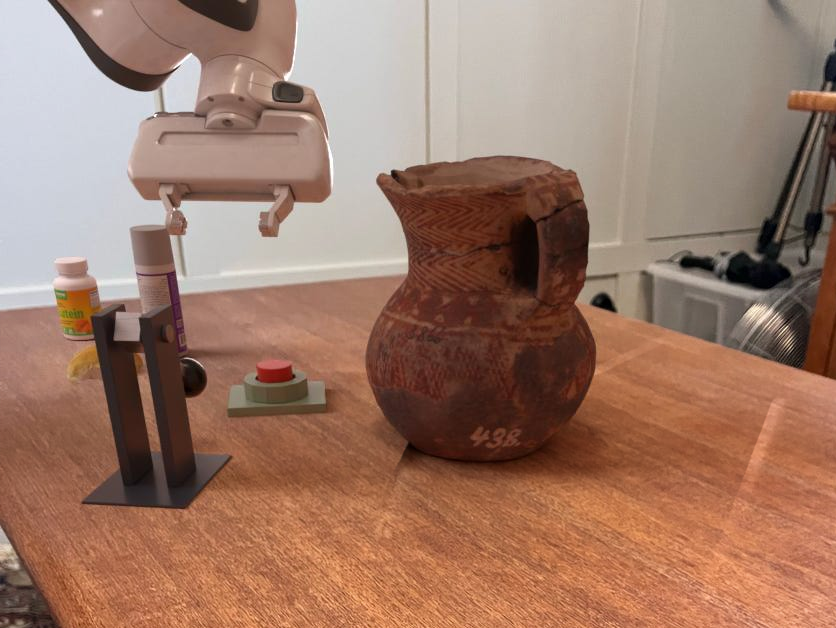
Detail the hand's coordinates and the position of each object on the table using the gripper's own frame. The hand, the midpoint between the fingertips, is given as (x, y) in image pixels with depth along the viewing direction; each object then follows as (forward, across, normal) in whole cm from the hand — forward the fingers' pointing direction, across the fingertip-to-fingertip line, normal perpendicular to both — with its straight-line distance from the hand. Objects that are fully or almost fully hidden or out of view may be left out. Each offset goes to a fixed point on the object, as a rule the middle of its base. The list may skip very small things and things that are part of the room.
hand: (221, 232), depth 99 cm
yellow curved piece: (+6, -20, +20) cm, 28 cm away
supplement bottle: (-7, -31, +33) cm, 46 cm away
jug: (+17, +26, +9) cm, 32 cm away
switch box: (+13, +4, +13) cm, 19 cm away
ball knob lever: (+19, 0, -7) cm, 21 cm away
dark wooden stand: (+28, 0, -3) cm, 29 cm away
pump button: (+10, +4, +10) cm, 15 cm away
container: (-2, -17, +28) cm, 32 cm away
